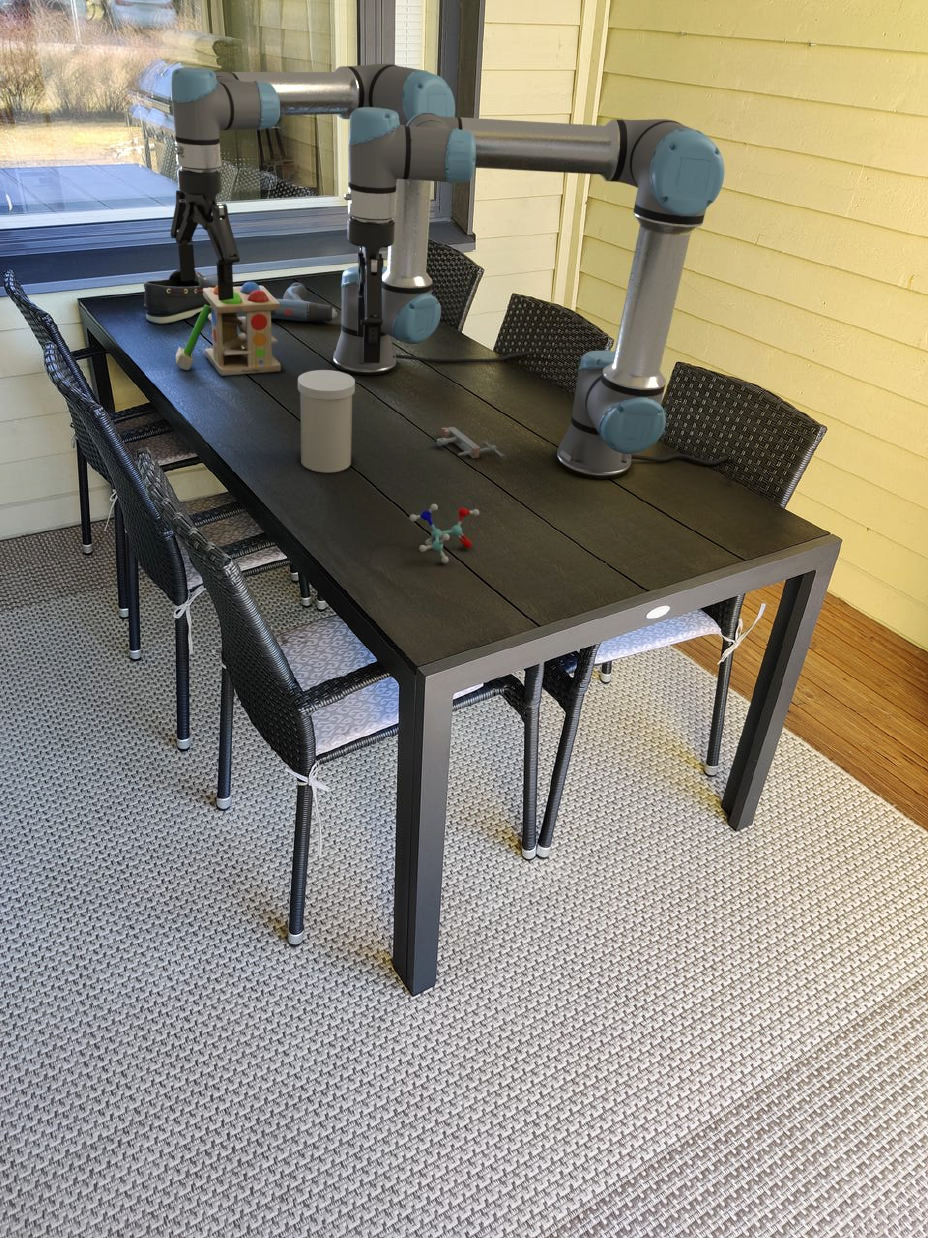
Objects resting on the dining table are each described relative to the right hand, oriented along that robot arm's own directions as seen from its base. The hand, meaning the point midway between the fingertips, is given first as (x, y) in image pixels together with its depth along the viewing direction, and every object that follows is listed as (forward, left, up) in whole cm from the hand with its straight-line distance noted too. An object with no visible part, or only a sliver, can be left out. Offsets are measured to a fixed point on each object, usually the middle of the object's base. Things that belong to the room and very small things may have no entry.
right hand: (368, 348), depth 168 cm
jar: (+6, -13, -28) cm, 31 cm away
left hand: (+28, -29, 0) cm, 40 cm away
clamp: (-22, -18, -28) cm, 40 cm away
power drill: (+8, -105, -28) cm, 109 cm away
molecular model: (-11, +21, -28) cm, 37 cm away
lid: (+7, -13, -11) cm, 18 cm away
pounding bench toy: (+28, -64, -28) cm, 75 cm away
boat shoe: (+38, -107, -28) cm, 117 cm away
